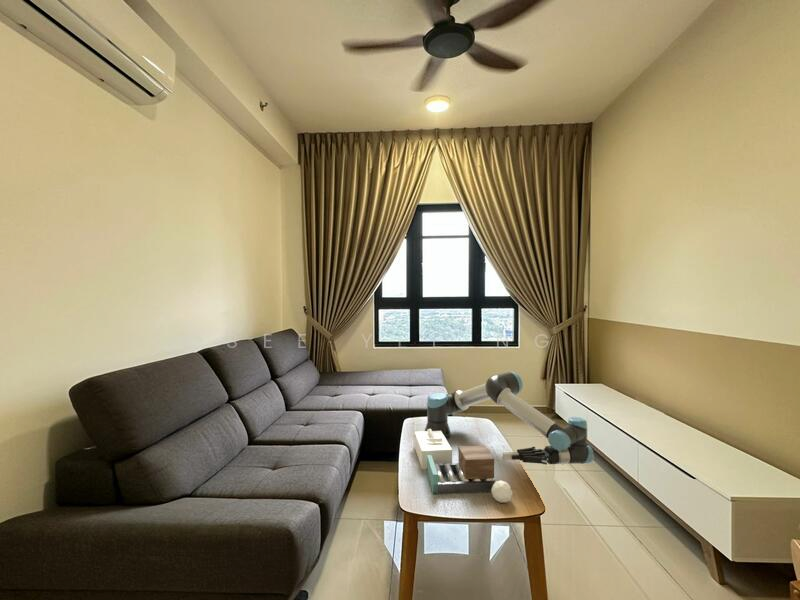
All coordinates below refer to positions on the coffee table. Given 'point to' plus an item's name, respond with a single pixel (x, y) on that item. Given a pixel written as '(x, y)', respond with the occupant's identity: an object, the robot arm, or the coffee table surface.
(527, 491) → the coffee table surface
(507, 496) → the geometric ball
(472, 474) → the brown wooden block
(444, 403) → the robot arm
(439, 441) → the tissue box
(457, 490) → the roller track
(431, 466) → the teal stop bar
